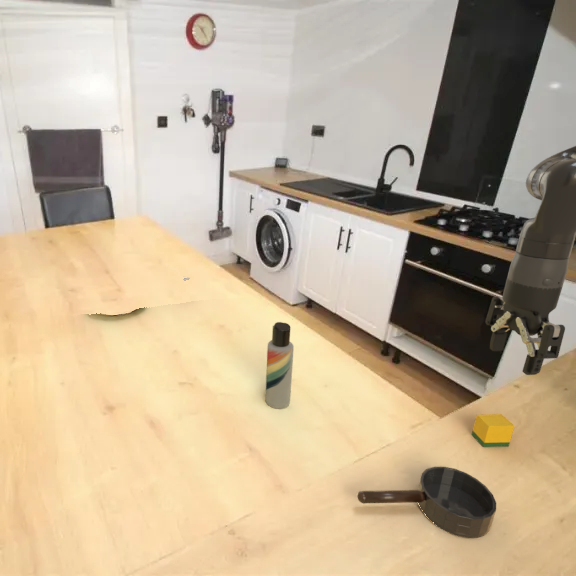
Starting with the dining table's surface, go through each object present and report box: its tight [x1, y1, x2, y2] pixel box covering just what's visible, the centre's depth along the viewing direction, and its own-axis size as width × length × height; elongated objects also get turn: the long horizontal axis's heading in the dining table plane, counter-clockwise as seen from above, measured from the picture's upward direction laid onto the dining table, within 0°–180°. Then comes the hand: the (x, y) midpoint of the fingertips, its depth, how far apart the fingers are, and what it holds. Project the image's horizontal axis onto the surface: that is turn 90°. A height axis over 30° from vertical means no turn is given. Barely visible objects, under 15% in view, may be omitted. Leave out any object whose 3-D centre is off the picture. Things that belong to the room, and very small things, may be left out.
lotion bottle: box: [264, 321, 295, 410], centre depth 92 cm, size 6×6×20 cm
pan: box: [417, 466, 497, 539], centre depth 67 cm, size 10×10×4 cm
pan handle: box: [356, 489, 425, 504], centre depth 67 cm, size 11×2×2 cm, turn 90°
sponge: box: [471, 413, 515, 448], centre depth 81 cm, size 5×4×5 cm
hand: (511, 361), depth 76 cm, fingers open, 8 cm apart
